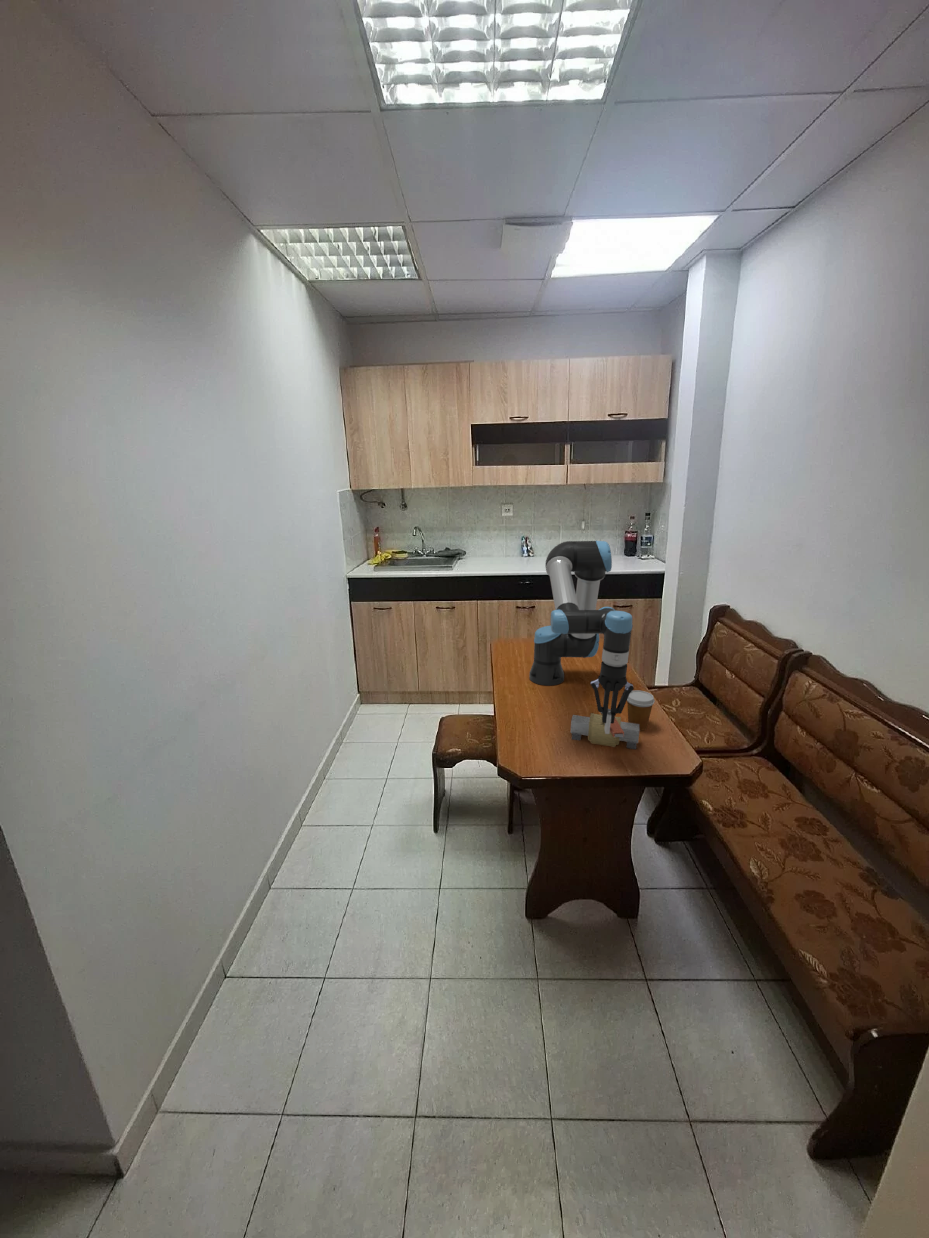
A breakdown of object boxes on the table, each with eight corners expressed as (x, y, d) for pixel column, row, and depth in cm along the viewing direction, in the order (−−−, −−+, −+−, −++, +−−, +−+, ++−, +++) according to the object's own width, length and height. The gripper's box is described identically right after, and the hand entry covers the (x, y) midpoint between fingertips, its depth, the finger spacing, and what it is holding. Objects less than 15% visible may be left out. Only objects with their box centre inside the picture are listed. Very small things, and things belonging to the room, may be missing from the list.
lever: (598, 711, 165) (599, 707, 164) (609, 711, 165) (609, 707, 164) (613, 737, 149) (613, 733, 148) (624, 737, 149) (625, 733, 148)
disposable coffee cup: (648, 735, 168) (651, 704, 164) (620, 728, 173) (623, 698, 169) (654, 723, 176) (657, 693, 172) (627, 716, 181) (630, 687, 177)
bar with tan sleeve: (569, 739, 166) (571, 714, 163) (572, 729, 173) (573, 705, 170) (637, 750, 159) (640, 724, 156) (637, 739, 166) (640, 714, 163)
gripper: (593, 665, 144) (586, 735, 151) (638, 668, 142) (629, 739, 149) (591, 656, 151) (585, 723, 158) (634, 659, 149) (626, 727, 156)
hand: (606, 731), depth 153 cm, fingers closed
